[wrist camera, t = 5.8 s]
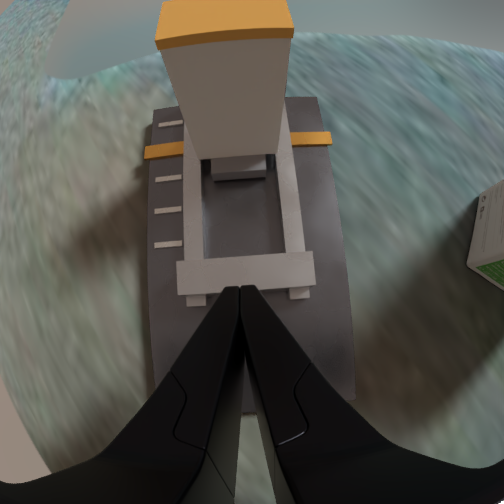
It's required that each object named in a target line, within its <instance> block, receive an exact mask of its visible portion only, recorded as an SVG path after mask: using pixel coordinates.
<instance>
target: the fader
mask: <svg viewBox="0 0 504 504" xmlns="http://www.w3.org/2000/svg"><path fill="white" fill-rule="evenodd" d="M293 34H294V25H293V22H292V19H291V15H290V12H289V9H288V5H287V2H286V0H172V1H166V2H163V4H162V9H161V13H160V17H159V22H158V26H157V31H156V36H155V43H156V46H157V49H158V50H160V52H161V55H162V58H163V61H164V64H165V67H166V69H167V72H168V75H169V78H170V81H171V84H172V87H173V90H174V93H175V95H176V98H177V101H178V104H179V107H180V110H181V113H182V115H183V118H184V121H185V124H186V127H187V130H188V132H189V135H190V138H191V141H192V144H193V146H194V149H195V152H196V155H197V157H198V160H202V159H211V175H212V178H213V181H219V180H231V179H243V178H257V177H266V161H265V154H277V153H278V145H279V137H280V128H281V120H282V112H283V104H284V95H285V87H286V79H287V70H288V61H289V53H290V44H291V38H293Z"/></svg>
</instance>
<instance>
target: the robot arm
mask: <svg viewBox="0 0 504 504" xmlns="http://www.w3.org/2000/svg"><path fill="white" fill-rule="evenodd" d="M245 358H246V365H247V370H248V375H249V380H250V385H251V390H252V395H253V400H254V404H255V409H256V414H257V419H258V423H259V428H260V433H261V437H262V442H263V446H264V451H265V455H266V460H267V464H268V469H269V473H270V478H271V482H272V486H273V491H274V495H275V499H276V503H277V504H504V459H503V460H501V461H500V462H498V463H496V464H494V465H492V466H489V467H486V468H466V467H461V466H458V465H454V464H451V463H447V462H444V461H441V460H438V459H434V458H431V457H428V456H425V455H422V454H419V453H416V452H413V451H410V450H408V449H405V448H402V447H400V446H398V445H396V444H394V443H392V442H390V441H389V440H387V439H386V438H385V437H383V436H382V435H381V434H380V433H379V432H378V431H377V430H376V429H374V428H373V427H372V426H371V425H370V424H369V423H368V422H367V421H366V420H365V419H364V418H363V417H362V416H361V415H360V414H359V413H358V412H357V411H356V410H355V409H354V408H353V407H352V406H351V405H350V404H349V403H347V402H346V401H345V400H344V398H343V397H342V396H341V395H340V394H339V393H338V392H337V391H336V390H335V389H334V388H333V387H332V386H331V385H330V383H329V382H328V381H327V380H326V379H325V377H324V376H323V375H322V374H321V372H320V371H319V370H318V368H317V367H316V366H315V364H314V363H311V359H310V358H309V357H308V355H307V354H306V353H305V351H304V350H303V349H302V347H301V346H300V345H299V343H298V342H297V341H296V339H295V338H294V337H293V335H292V334H291V333H290V331H289V330H288V329H287V327H286V326H285V325H284V323H283V322H282V321H281V319H280V318H279V317H278V315H277V314H276V313H275V311H274V310H273V308H272V307H271V306H270V304H269V303H268V302H267V300H266V299H265V298H264V296H263V295H262V294H261V292H260V291H259V289H258V288H257V287H256V286H255V285H242V286H241V287H239V286H226V287H224V289H223V290H222V292H221V293H220V295H219V296H218V298H217V299H216V301H215V302H214V303H213V305H212V306H211V308H210V309H209V311H208V312H207V314H206V315H205V317H204V318H203V320H202V321H201V323H200V324H199V326H198V327H197V329H196V330H195V332H194V333H193V335H192V336H191V338H190V339H189V341H188V342H187V344H186V345H185V347H184V348H183V350H182V351H181V353H180V354H179V356H178V357H177V359H176V360H175V362H174V363H173V365H172V366H171V368H170V371H168V372H167V374H166V375H165V377H164V378H163V380H162V381H161V383H160V384H159V386H158V387H157V388H156V390H155V391H154V393H153V394H152V395H151V397H150V398H149V399H148V400H147V401H146V403H145V404H144V405H143V406H142V408H141V409H140V410H139V411H138V412H137V414H136V415H135V416H134V417H133V418H132V419H131V420H130V422H129V423H128V424H127V425H126V426H125V427H124V428H123V430H122V431H121V432H120V433H119V434H118V435H117V436H116V437H115V439H114V440H113V441H112V442H111V443H110V444H109V445H108V446H107V447H106V448H105V449H104V450H103V451H102V452H101V453H99V454H98V455H96V456H95V457H93V458H92V459H90V460H88V461H85V462H83V463H80V464H77V465H75V466H72V467H70V468H67V469H64V470H61V471H59V472H56V473H53V474H50V475H48V476H44V477H41V478H38V479H36V480H32V481H29V482H25V483H17V484H11V483H5V482H2V481H0V504H234V496H235V484H236V472H237V460H238V447H239V435H240V422H241V410H242V397H243V385H244V372H245Z"/></svg>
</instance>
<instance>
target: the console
mask: <svg viewBox="0 0 504 504" xmlns="http://www.w3.org/2000/svg"><path fill="white" fill-rule="evenodd" d="M286 83H287V79H286ZM285 91H286V87H285ZM327 145H332V139H331V134H330V132H324V128H323V123H322V118H321V114H320V110H319V105H318V101H317V97H285V95H284V104H283V112H282V120H281V128H280V137H279V145H278V153H277V154H265V161H266V177H257V178H243V179H231V180H219V181H213V178H212V175H211V159H202V160H198V157H197V155H196V152H195V149H194V146H193V144H192V141H191V138H190V135H189V132H188V130H187V127H186V124H185V121H184V118H183V115H182V113H181V110H180V107H179V106H176V107H169V108H163V109H157V110H154V113H153V123H152V135H151V146H145V155H144V159H145V160H150V162H149V181H148V209H147V274H148V303H149V321H150V336H151V349H152V361H153V371H154V381H155V390H156V388H157V387H158V386H159V384H160V383H161V381H162V380H163V378H164V377H165V375H166V374H167V372H168V371H170V368H171V366H172V365H173V363H174V362H175V360H176V359H177V357H178V356H179V354H180V353H181V351H182V350H183V348H184V347H185V345H186V344H187V342H188V341H189V339H190V338H191V336H192V335H193V333H194V332H195V330H196V329H197V327H198V326H199V324H200V323H201V321H202V320H203V318H204V317H205V315H206V314H207V312H208V311H209V309H210V308H211V306H212V305H213V303H214V302H215V301H216V299H217V298H218V296H219V295H220V293H221V292H222V290H223V289H224V287H226V286H239V287H241V286H242V285H255V286H256V287H257V288H258V289H259V291H260V292H261V294H262V295H263V296H264V298H265V299H266V300H267V302H268V303H269V304H270V306H271V307H272V308H273V310H274V311H275V313H276V314H277V315H278V317H279V318H280V319H281V321H282V322H283V323H284V325H285V326H286V327H287V329H288V330H289V331H290V333H291V334H292V335H293V337H294V338H295V339H296V341H297V342H298V343H299V345H300V346H301V347H302V349H303V350H304V351H305V353H306V354H307V355H308V357H309V358H310V359H311V363H314V364H315V366H316V367H317V368H318V370H319V371H320V372H321V374H322V375H323V376H324V377H325V379H326V380H327V381H328V382H329V383H330V385H331V386H332V387H333V388H334V389H335V390H336V391H337V392H338V393H339V394H340V395H341V396H342V397H343V398H344V400H345V401H350V400H356V386H355V362H354V344H353V330H352V317H351V305H350V295H349V285H348V276H347V267H346V259H345V251H344V243H343V236H342V228H341V222H340V215H339V208H338V202H337V196H336V190H335V184H334V179H333V173H332V168H331V162H330V157H329V152H328V147H327ZM248 412H256V409H255V404H254V400H253V395H252V390H251V385H250V380H249V375H248V370H247V365H246V358H245V372H244V385H243V397H242V410H241V413H248Z"/></svg>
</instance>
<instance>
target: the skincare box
mask: <svg viewBox="0 0 504 504" xmlns="http://www.w3.org/2000/svg"><path fill="white" fill-rule="evenodd" d="M467 266H468V267H469V268H470V269H472V270H474V271H475V272H477V273H479V274H480V275H481V276H483V277H484V278H485V279H487V280H488V281H490V282H491V283H493V284H494V285H496V286H497V287H499V288H500V289H502V290H503V291H504V180H502V181H500V182H499V183H497V184H495V185H494V186H492V187H490V188H489V189H487V190H486V191H484V192H482V193H481V194H480V196H479V203H478V209H477V215H476V221H475V225H474V231H473V236H472V241H471V246H470V250H469V254H468V259H467Z"/></svg>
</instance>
